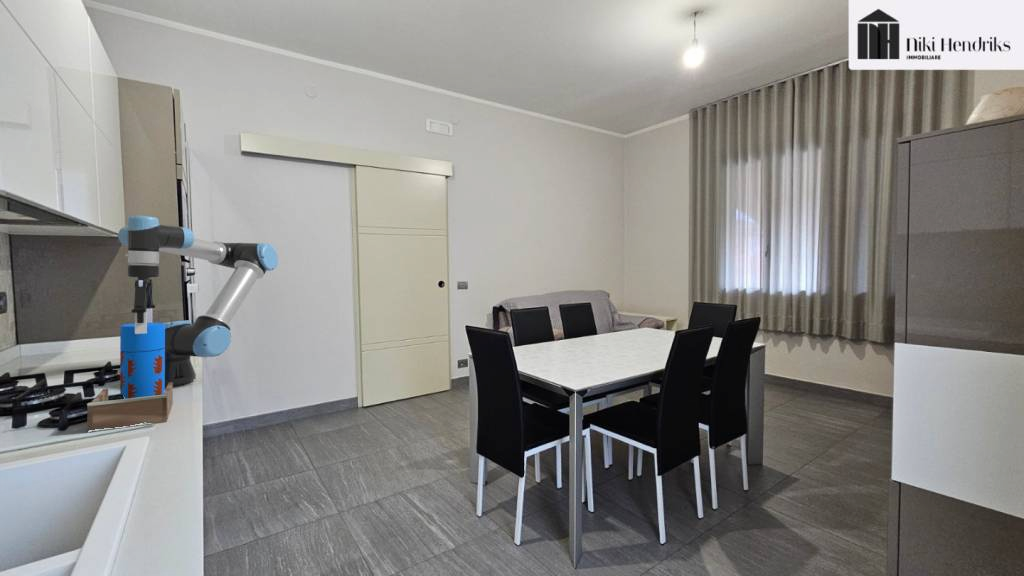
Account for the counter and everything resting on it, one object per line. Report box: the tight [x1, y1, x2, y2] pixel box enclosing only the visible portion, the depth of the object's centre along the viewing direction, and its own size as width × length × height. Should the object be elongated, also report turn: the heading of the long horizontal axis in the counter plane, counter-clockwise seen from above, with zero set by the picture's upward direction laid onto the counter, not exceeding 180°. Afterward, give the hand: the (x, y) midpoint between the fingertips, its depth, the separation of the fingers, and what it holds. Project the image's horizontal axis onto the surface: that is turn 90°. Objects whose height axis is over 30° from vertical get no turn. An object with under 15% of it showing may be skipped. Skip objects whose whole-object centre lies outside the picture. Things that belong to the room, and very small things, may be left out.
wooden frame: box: [86, 382, 174, 432], centre depth 121 cm, size 19×16×8 cm
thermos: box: [119, 322, 166, 399], centre depth 135 cm, size 11×11×25 cm
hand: (144, 330), depth 135 cm, fingers open, 13 cm apart
